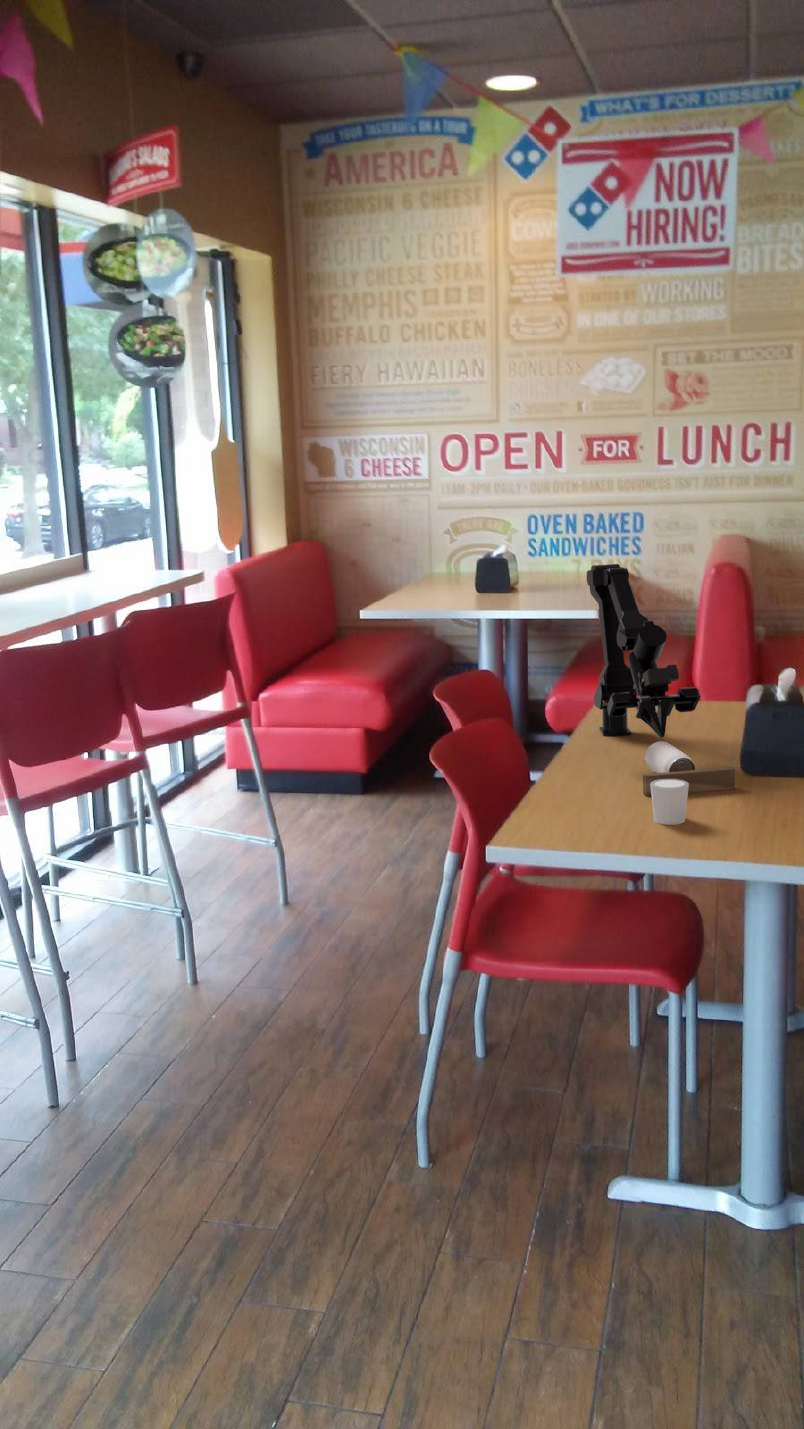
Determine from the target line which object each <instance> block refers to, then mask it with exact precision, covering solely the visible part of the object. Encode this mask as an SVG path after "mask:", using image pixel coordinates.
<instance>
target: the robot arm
mask: <svg viewBox="0 0 804 1429" xmlns="http://www.w3.org/2000/svg"><path fill="white" fill-rule="evenodd" d="M629 574H630V573H629V570H628V567H621V566H620V564H619V563H612V564H595V565H592V566H591V567H590V570H589V569H588V570H587V571H586V583H587V585H588V586H589V593H590V596H592V597H593V599H594V600H595V601H596V602H597V604H598V613H599V623H600V633H601V641H602V642H601V643H602V650H603V651H602V653H603V662H604V663H603V664H604V666H603V667H602V670H601V673H600V674H599V677H598V684H597V687H596V690H595V693H594V695H593V701H594V706H595V707H596V708H598V709H599V710H602V726H600V727H598V728H599V731H600V732H601V734H602V735H603V736H619V735H621V736H622V735H631V734H632V731H631V729H630V728H629V727H628V709H635V710H636V714H635V717H636V719H640V720H641V721H643V722H644V723H645V724H647V725H648V727H650V728H651V729H652V731H653V732H655V734H656V735H657V736H658V737H659V738H665V735H666V726H667V718H668V717H669V716H670V715H671V713H672V711H673V709H675V711H677V712H679V713H688V712H694V711H695V710H696V708H697V706H698V704H699V701H700V699H701V693H700V690H699V689H698V688H697V687H696V686H689V687H688V686H687V687H679V688H678V689H677V692H676V694H666V693H667V692H669V689H670V688H669V685H670V684H672V683H673V682H676V681H677V680H679V678H680V675H679V674H680V673H679V669H678V665H677V664H667V666H666V667H662V668H661V667H659V666H658V662H657V660H658V659H659V658H660V657H661V656H662V655H661V654H662V652H663V650H664V646H665V645H666V644H665V643H666V642H667V632H666V631H665V630H664V629H663V628H662V627H661V626H659V625H656V624H655V622H654V621H653V620H649V619H648V617H646V616H644V615H643V614H642V613H640V611H639V607H638V605H637V601H636V599H635V595H634V593H633V589H632V587H631V584H630V583H631V582H630V575H629ZM625 652H630V653H629V655H628V657H627V662H628V665H627V664H626V661H625V655H624V654H625ZM656 710H657V711H656Z"/></svg>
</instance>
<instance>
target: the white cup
mask: <svg viewBox="0 0 804 1429" xmlns="http://www.w3.org/2000/svg"><path fill="white" fill-rule="evenodd" d="M650 786H651V796H650V797H651V804H652V814H653V815H652V816H653V821H654V823H657V824H659V825H660V824H661V825H664V826H665V825H666V826H667V825H669V826H672V825H674V826H675V825H680V824H683V823H685V822H686V819H687V818H686V816H687V806H688V797H689V796H688V795H689V793H688V787H689V783H688V782H686V781H683V780H679V779H659V780H655V781H653V782H651V784H650Z"/></svg>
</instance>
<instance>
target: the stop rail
mask: <svg viewBox="0 0 804 1429" xmlns="http://www.w3.org/2000/svg"><path fill="white" fill-rule="evenodd" d="M659 779H679V780H683V781H686V782H688V783H689V787H688V794H690V793H701V792H712V791H722V790H723V791H725V790H726V791H727V790H734V789H736V769H735V767H733V766H729V767H728V766H726V767H716V768H703V769H695V770H689V771H677V772H665V773H656V772H654V773H644V774H642V794H643V795H644V796H645V797H652V796H651V786H650V784H651V782H653V781H655V780H659Z"/></svg>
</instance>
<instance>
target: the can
mask: <svg viewBox="0 0 804 1429" xmlns="http://www.w3.org/2000/svg"><path fill="white" fill-rule="evenodd" d="M644 757H645V758H644V761H645V764H646V766H647V767H648V768H649V769H650V770H652V771H653V772H654V773H665V772H677V771H689V770H696V765H695V763H694V762H693V759H692V758H691V757H690V756H689V755H687V754H686V753H685V752H683V751H681V750H680V749H678V748H677V747H675V746H674V745H672V744H670V743H669V742H666V741H663V740H659V741H655V742H653V743H652V744H651V745H650V746H649V747H648V748H647V750H646V752H645V756H644Z"/></svg>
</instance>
